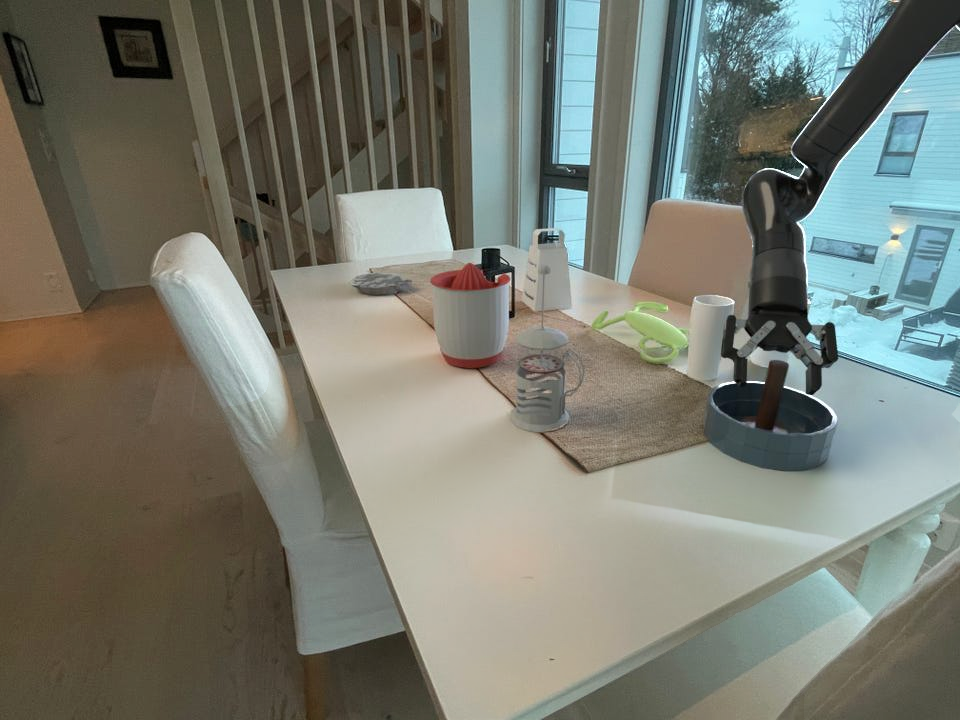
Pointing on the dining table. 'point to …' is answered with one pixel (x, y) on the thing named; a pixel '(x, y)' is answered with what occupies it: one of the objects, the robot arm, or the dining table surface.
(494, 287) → the citrus juicer
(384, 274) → the brain slice
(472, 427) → the dining table surface
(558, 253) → the grater
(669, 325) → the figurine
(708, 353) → the drinking glass
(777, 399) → the stirring muddler
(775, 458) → the bowl
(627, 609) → the dining table surface
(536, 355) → the french press
